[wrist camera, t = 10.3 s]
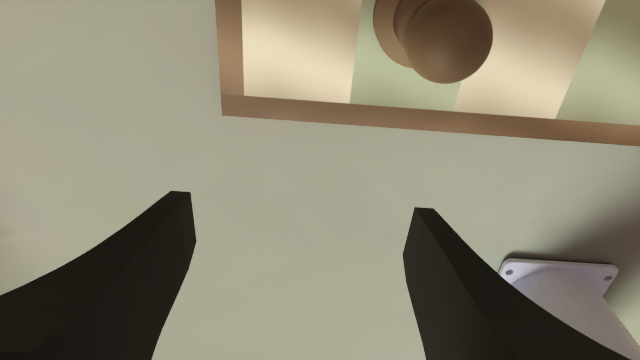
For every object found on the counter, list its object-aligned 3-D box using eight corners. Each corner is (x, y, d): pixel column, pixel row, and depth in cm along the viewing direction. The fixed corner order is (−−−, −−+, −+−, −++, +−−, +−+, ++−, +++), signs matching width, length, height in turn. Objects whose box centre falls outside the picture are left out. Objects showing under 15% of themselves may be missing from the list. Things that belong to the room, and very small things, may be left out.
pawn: (454, 66, 20) (503, 118, 14) (366, 58, 20) (382, 109, 14) (480, -35, 17) (551, -17, 12) (380, -43, 17) (406, -29, 12)
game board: (747, 148, 23) (760, 155, 22) (225, 109, 22) (222, 115, 21) (924, -91, 17) (949, -92, 16) (210, -159, 16) (205, -163, 15)
